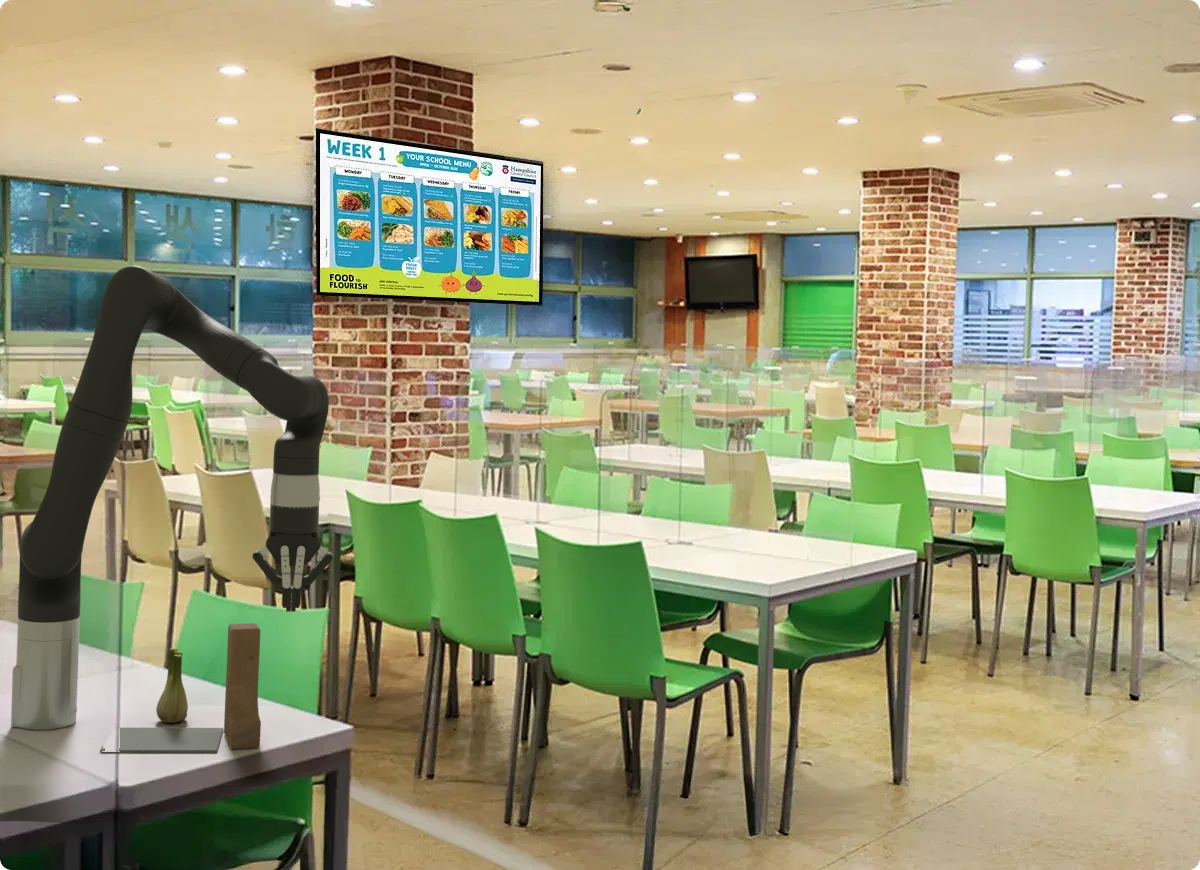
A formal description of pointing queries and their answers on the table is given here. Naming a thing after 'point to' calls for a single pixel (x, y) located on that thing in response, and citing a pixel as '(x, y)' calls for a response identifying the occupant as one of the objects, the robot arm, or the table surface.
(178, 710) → the fennel bulb
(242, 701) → the wooden block
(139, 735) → the mat
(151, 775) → the table surface
